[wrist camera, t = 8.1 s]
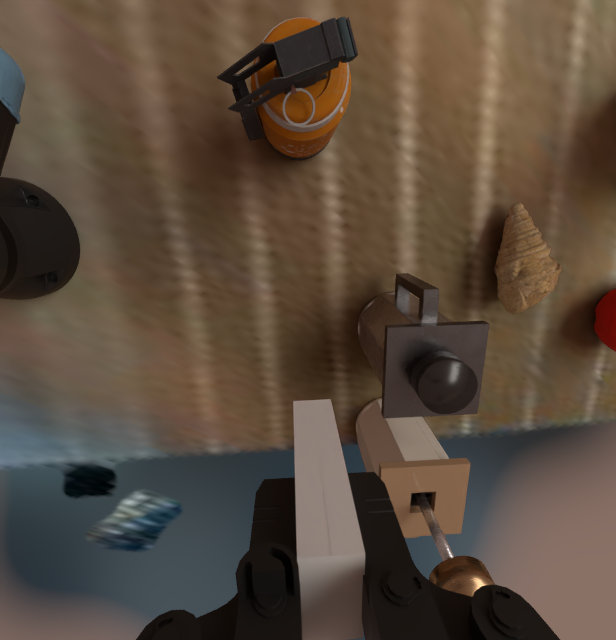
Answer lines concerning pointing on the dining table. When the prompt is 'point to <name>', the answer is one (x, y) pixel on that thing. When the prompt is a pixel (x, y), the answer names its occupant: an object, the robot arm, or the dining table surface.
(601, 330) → the tomato
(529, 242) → the seashell
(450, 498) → the ceramic press carafe
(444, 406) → the steel plunger
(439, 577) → the brass press plunger
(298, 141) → the canister
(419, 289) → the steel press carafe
